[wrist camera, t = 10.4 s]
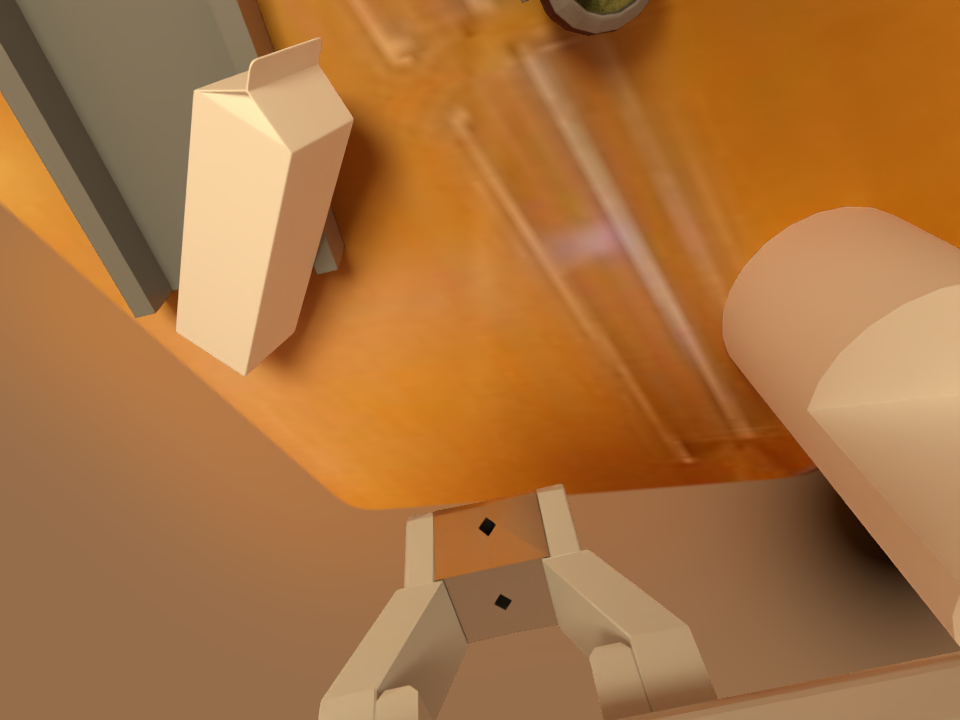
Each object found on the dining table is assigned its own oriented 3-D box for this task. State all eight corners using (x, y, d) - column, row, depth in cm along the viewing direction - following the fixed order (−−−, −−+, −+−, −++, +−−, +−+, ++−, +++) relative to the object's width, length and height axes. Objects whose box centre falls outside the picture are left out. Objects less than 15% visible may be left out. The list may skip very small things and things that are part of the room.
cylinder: (890, 377, 58) (1208, 654, 35) (709, 395, 58) (907, 689, 34) (953, 196, 49) (1445, 406, 25) (738, 216, 49) (1037, 448, 25)
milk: (174, 332, 44) (192, 25, 29) (232, 290, 48) (274, 4, 33) (246, 379, 44) (302, 95, 29) (297, 332, 48) (369, 64, 33)
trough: (-92, -157, 34) (-158, -174, 30) (172, -233, 33) (139, -260, 29) (158, 290, 48) (135, 317, 44) (344, 245, 47) (337, 269, 44)
